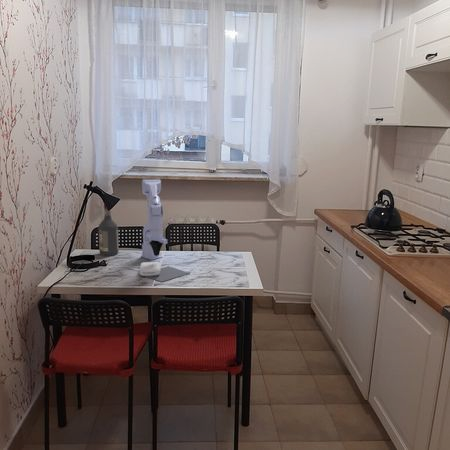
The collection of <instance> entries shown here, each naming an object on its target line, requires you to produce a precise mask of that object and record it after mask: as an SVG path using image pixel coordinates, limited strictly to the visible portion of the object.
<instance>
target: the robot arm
mask: <svg viewBox="0 0 450 450" xmlns="http://www.w3.org/2000/svg"><path fill="white" fill-rule="evenodd" d="M141 186H142V187H141V188H142V191H141V192H142V194H143V195H145V196H146V199H147V224H146V225H145V226H144V227H143V228H142V240H143V243H142V245H141V256H140V257H141V258H145V259H148V260H151V261H152V260H157V259H161V258H163V255H160V253H161V248H162V247H163V245H167V244H168V239H167V238H165V237H163V215H164V207H163V204H162V203H161V197H160V196H159V194H160V192H161V190H162V180H161V179H159V178H158V179H144V178H143V179H142V180H141Z"/></svg>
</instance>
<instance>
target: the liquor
mask: <svg viewBox="0 0 450 450" xmlns="http://www.w3.org/2000/svg"><path fill="white" fill-rule="evenodd" d="M103 208H104V209H103V211H104V217H103V219H102V221H101V222H100V223H99V225H98V243H99V244H98V247H99V254H100V255H102V256H104V257H111V256H116V254H117V255H118V254H119V226H118V224H117V223H116V222H115V221H114V220H113V219H112V212H111V210H112V209H111V210H110V211H108V210H107V208H106V206H105V204H104V203H103Z"/></svg>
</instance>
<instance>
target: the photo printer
mask: <svg viewBox="0 0 450 450" xmlns="http://www.w3.org/2000/svg"><path fill="white" fill-rule="evenodd" d="M161 268H162V267H161V263H160V262H159V261H144V262H141V263H140V266H139V275H140V276H142V277H146V276H157V275H160V271H161Z"/></svg>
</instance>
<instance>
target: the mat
mask: <svg viewBox="0 0 450 450" xmlns="http://www.w3.org/2000/svg"><path fill="white" fill-rule="evenodd" d="M186 275H190V272H188V271H184V270H182V269H178V268H176V267H173V266H170V265H167V266H164V267H161V271H160V275H157V276H145V277H146V278H149V279H152V280H154V281H157V282H159V283H164V282H167V281H170V280H173V279H177V278H180V277H183V276H186Z"/></svg>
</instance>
